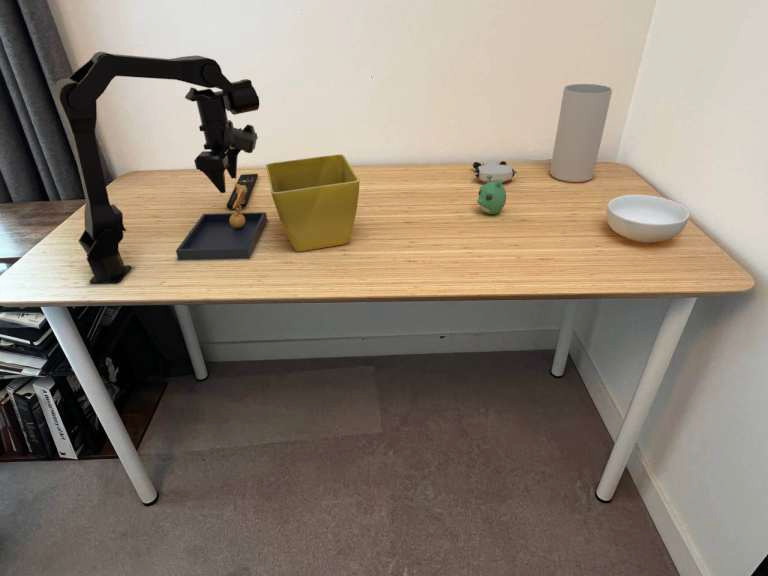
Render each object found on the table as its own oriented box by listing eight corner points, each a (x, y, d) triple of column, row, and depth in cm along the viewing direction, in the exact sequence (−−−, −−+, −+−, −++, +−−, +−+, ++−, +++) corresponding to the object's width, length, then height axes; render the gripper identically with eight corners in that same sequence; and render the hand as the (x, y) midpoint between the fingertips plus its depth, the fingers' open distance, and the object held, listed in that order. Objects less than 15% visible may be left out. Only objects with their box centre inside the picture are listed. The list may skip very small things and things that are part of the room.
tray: (249, 258, 110) (247, 249, 109) (178, 260, 110) (175, 250, 109) (267, 220, 126) (266, 212, 125) (205, 222, 127) (203, 213, 125)
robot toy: (468, 172, 153) (475, 186, 140) (469, 158, 151) (476, 171, 138) (507, 171, 152) (517, 185, 139) (508, 156, 150) (519, 170, 137)
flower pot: (283, 262, 108) (271, 192, 99) (276, 226, 123) (265, 162, 114) (364, 248, 112) (360, 180, 103) (348, 215, 127) (343, 153, 118)
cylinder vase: (541, 171, 149) (555, 86, 135) (575, 166, 152) (592, 82, 138) (565, 185, 139) (582, 95, 125) (601, 179, 142) (622, 90, 128)
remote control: (258, 177, 152) (257, 173, 152) (246, 209, 133) (245, 204, 132) (241, 178, 152) (240, 174, 151) (226, 210, 132) (225, 206, 132)
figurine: (236, 220, 126) (226, 177, 119) (258, 220, 125) (250, 176, 119) (226, 235, 119) (215, 190, 112) (250, 235, 118) (240, 189, 112)
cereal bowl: (640, 214, 122) (647, 188, 118) (696, 243, 109) (707, 215, 105) (586, 227, 117) (592, 200, 113) (638, 259, 104) (647, 230, 100)
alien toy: (469, 211, 127) (472, 175, 121) (493, 205, 130) (496, 169, 124) (486, 221, 122) (489, 184, 116) (510, 215, 124) (514, 178, 119)
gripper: (239, 129, 98) (252, 200, 107) (259, 107, 114) (270, 170, 122) (185, 131, 98) (203, 201, 107) (213, 108, 114) (227, 171, 123)
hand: (228, 185), depth 115 cm, fingers open, 9 cm apart
